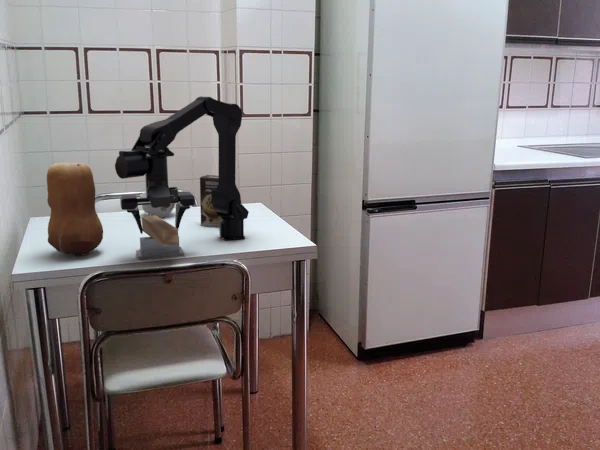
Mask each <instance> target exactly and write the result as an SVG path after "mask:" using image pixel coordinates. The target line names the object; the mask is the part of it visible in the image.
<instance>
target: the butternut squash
mask: <svg viewBox="0 0 600 450" xmlns="http://www.w3.org/2000/svg"><path fill="white" fill-rule="evenodd" d="M46 172H47V173H46V185H47V188H46V190H47V201H46V202H47V205H48V206H49V208H50V215H49V221H48V225H47V237H48V238H47V242H48V244H49V245H51V247H53V248H54V249H55V250H56V251H57V252H59V253H63V254H66V255H74V256H76V257H77V256H78V257H79V256H85V255H89V254H90V253H91V252H92V251H94V250H95V249H97V248H98V247H99V246H100V244H101V243H102V241H103V239H104V228H103V224H102V222H101V219H100V217H99V215H98V214H97V210H96V186H95V180H94V175H93V172H92V169H91V168H90V167H89V166H88V165H87V164H86V163H83V162H64V161H61V162H56V163H54V164H51V166H49V167H48V169H47V171H46Z"/></svg>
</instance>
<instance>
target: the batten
mask: <svg viewBox="0 0 600 450" xmlns="http://www.w3.org/2000/svg"><path fill="white" fill-rule="evenodd" d="M141 224H142V232H143V233H144V234H146V235H148V237H152V238H153V239H154V240H156V241H157V242H158V243H160V244H161V245H162V246H169V245H177V244H179V245H180V240H179V241H178V236H179V228H178V229H177V228H175V225H173V224H170V223H169V222H168V221H166V220H164V219H162V217H160V218H159V217H158V216H156V215H154V216H151V215H148V216H147V215H145V216H141Z"/></svg>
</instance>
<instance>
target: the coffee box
mask: <svg viewBox="0 0 600 450" xmlns="http://www.w3.org/2000/svg"><path fill="white" fill-rule="evenodd" d="M218 182H219V175H216V174H215V175H213V174H211V175H210V174H206V175H202V176H200V177H199V194H200V195H199V197H200V200H199V201H200V202H199V203H200V204H199V205H200V226H201V227H209V228H210V227H213V228H219V222H221V217H220V216H217V214H216V211H215V209H214V208H213V205H212V203H211V199H212V196H211V190H215V189H216V187H217V186H218Z"/></svg>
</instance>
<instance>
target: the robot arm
mask: <svg viewBox="0 0 600 450" xmlns="http://www.w3.org/2000/svg"><path fill="white" fill-rule="evenodd" d="M204 115H206V116H209V117H211V118H212V122H213V123H212V124H213V126H214V128H215V130H216V133H217V136H218V176H219V182H218V186H217V187H216V189H215V190H211V196H212V199H211V203H212V205H213V208H214V209H215V211H216V214H217V216H220V217H221V222H219V227H218V228H219V229H218V231H219V236H220V237H221V238H222V240H224V241H232V240H233V241H235V240H243V239H246V236H245V235H244V233H245V232H244V226H245V223H244V221H245V219H246V220H247V219H248V217H249V213H250V212H249V210H248V209H247V208H246V207H245V206H244V205H243V204H242V198H241V193H240V191H239V189H238V187H237V184H236V151H237V150H236V149H237V148H236V145H237V143H236V140H237V139H236V137H237V133H238V132H239V130H240V128H241V126H242V119H243V109H242V108H241V107H240V106H239V105H238V104H237V103H227V102H223V101H220V100H218V99H215V98H213V97H211V96H198V97H196V98H195V100H193V101H191V102H190V103H189V104H186V105H185V106H184V107H183V108H180V109H179V110H178V111H176V112H175V113H173V114H172V115H170V116H169V117H167V118H165V119H162V120H159V121H158V120H157V121H154V122H151V123H148V124H147V125H144V126H143V127H141V128H140V130H139V136H138V137H137V140H136V141H135V143H134V145H133V147H132V148H131V150H119V151H118V156H117V157H116V161H115V163H114V169H115V173H116V175H117V176H118V177H119V178H120V179H121V180H122V179H132V178H139V177H145V193H146V198H140V197H137V195H136V194H126V195H121V196H120V198H119V200H120V201H119V202H120V204H119V205H120V208H121V210H122V211H123V210H125V211H126V212H127V214H128V213H131V214H132V216H133V218H134V219H135V222H136V224H137V228H138V229H139V232H140V234H141V235H143V233H144V232H143V231H142V218H141V214H140V209H139V206H142V205H150V204H151V206H152V207H153V208H158V207H170V206H171V203H176V204H175V218H174V219H175V222H174V227H175V228H177V229H178V230H179V228H180V225H181V221H182V219H183V216H184V213H185V212H186V211H187V210H189V209H191V207H192V206H193V207H194V206H196V198H195V195H193V193H192V192H190V191H183V192H182V191H181V192H179V189H178V186H170V187H169V177H168V175H169V174H168V169H169V168H168V157H174V156H175V152H173V151H171V150H170V148H169V147H168V146H169V145H170V144H171V143H172V142H174V141H175V139H176V137H177V135H178V134H179V133H180V132H181V131H183V130H184V129H186V128H187V127H188V126H190V125H191V124H193V123H194V122H196V121H197V120H199V119H200V118H202V117H203V116H204Z"/></svg>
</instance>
